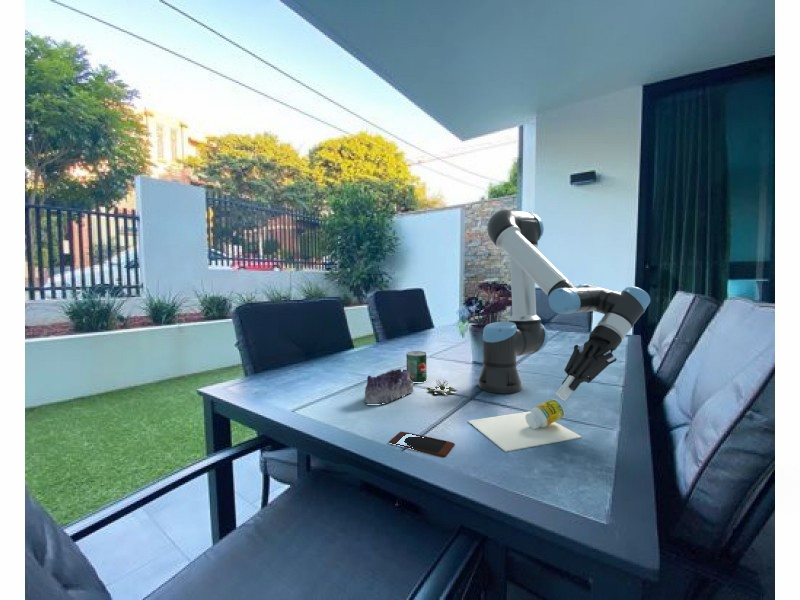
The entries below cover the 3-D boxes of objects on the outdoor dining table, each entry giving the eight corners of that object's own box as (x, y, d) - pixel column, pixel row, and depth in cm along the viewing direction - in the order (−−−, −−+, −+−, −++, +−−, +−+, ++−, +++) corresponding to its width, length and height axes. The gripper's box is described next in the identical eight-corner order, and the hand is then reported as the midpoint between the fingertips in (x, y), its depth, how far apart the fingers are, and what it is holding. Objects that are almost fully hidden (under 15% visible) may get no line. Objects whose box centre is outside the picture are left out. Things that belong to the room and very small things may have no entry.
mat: (505, 451, 81) (505, 450, 81) (467, 421, 98) (467, 420, 98) (581, 437, 88) (581, 436, 88) (533, 411, 105) (533, 410, 105)
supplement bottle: (548, 406, 99) (521, 420, 96) (552, 394, 96) (524, 407, 93) (563, 421, 95) (536, 435, 92) (568, 408, 92) (539, 423, 89)
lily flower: (453, 386, 132) (453, 374, 132) (463, 397, 120) (463, 383, 120) (421, 388, 130) (421, 376, 130) (429, 399, 118) (429, 385, 118)
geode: (385, 411, 108) (380, 379, 108) (357, 408, 114) (353, 378, 114) (420, 390, 124) (416, 362, 124) (394, 389, 131) (390, 362, 131)
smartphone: (400, 430, 92) (455, 442, 85) (400, 433, 92) (455, 445, 85) (387, 441, 86) (444, 455, 79) (387, 445, 86) (445, 459, 79)
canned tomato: (427, 383, 134) (427, 355, 133) (406, 384, 134) (406, 355, 133) (426, 377, 142) (425, 350, 141) (406, 378, 142) (406, 351, 141)
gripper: (637, 345, 95) (587, 414, 91) (597, 337, 107) (551, 397, 103) (623, 327, 93) (571, 396, 89) (583, 321, 105) (536, 381, 101)
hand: (560, 397), depth 96 cm, fingers closed
